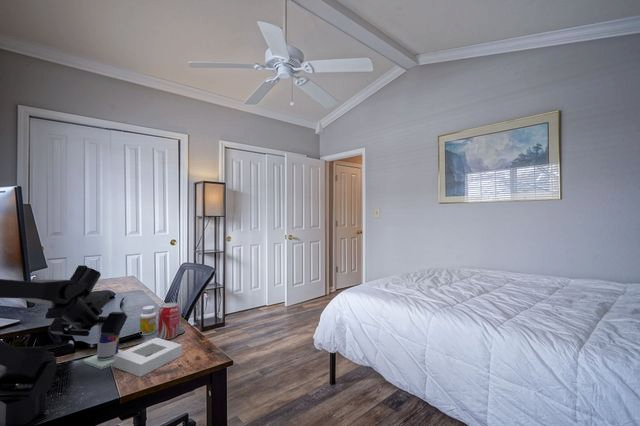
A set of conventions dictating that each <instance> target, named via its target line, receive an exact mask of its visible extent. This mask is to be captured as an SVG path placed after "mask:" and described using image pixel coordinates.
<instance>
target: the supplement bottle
mask: <svg viewBox="0 0 640 426" xmlns="http://www.w3.org/2000/svg"><path fill="white" fill-rule="evenodd" d="M141 311H142V312H141V313H140V316H139V332H140V331H141V332H142V334H140V335H141V336H149V335H153V334H154V333H155V332H156V331H157V312H155V305H146V306H143V307H142V310H141Z"/></svg>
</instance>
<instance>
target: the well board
mask: <svg viewBox="0 0 640 426" xmlns="http://www.w3.org/2000/svg"><path fill="white" fill-rule="evenodd" d="M122 351H123V352H120V353H118V354H116V355H114V364H113V368H116V369H119V370H120V371H123V372H126V373H129V374H132V375H134V376H137V377H144V376H146V375H147V374H149V373H151V372H153V371H155V370H156V369H158V368H160V367H162V366H164V365H167V364H168V363H171V361H174V360H176V359H178V358H180V357H181V356H182V355H183V345H182V344H181V343H176V342H173V341H169V340H163V339H161V338H159V337H155V338H152V339H149V340H147V341H144V342H143V343H140V344H138V345H135V346H133V347H131V348H130V347H129V348H127V349H126V350H122Z"/></svg>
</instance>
